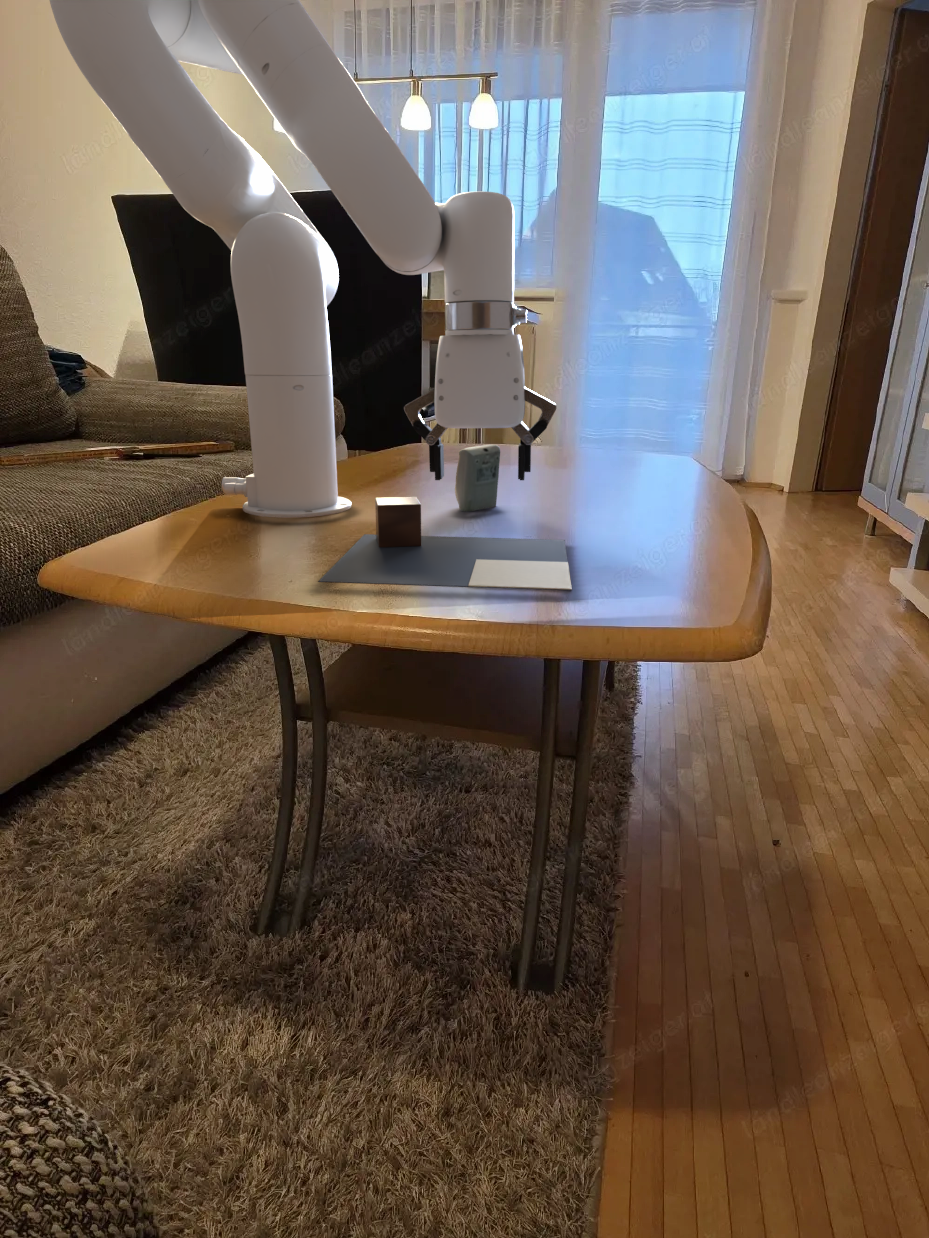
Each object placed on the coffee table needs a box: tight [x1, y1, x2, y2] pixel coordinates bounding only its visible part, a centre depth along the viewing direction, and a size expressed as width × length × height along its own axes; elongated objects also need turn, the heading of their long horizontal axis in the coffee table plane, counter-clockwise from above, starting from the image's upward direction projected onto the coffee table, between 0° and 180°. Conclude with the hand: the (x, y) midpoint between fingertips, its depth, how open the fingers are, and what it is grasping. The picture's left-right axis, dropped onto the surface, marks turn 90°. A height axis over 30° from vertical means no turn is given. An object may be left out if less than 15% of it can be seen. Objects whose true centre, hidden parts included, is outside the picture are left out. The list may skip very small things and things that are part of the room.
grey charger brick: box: [454, 444, 501, 512], centre depth 89 cm, size 6×5×8 cm
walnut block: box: [374, 496, 422, 547], centre depth 72 cm, size 4×4×4 cm
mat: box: [317, 533, 573, 591], centre depth 67 cm, size 20×17×1 cm
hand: (480, 478), depth 88 cm, fingers open, 9 cm apart
